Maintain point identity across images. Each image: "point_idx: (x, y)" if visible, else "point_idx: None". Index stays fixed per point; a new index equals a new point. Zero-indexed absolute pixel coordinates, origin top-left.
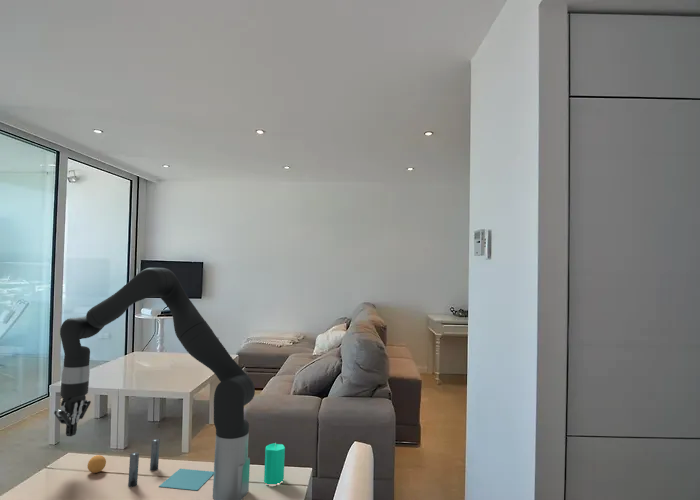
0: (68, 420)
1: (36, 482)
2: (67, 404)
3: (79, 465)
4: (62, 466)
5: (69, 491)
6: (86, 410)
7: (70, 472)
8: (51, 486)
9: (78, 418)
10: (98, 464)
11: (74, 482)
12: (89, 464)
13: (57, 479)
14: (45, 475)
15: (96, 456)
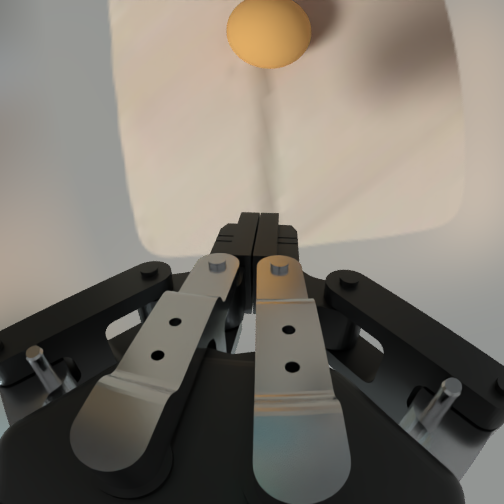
0: (368, 297)
1: (388, 208)
2: (456, 498)
3: (224, 154)
4: None
5: (436, 46)
6: (67, 298)
7: (293, 141)
8: (414, 133)
9: (201, 274)
10: (296, 3)
11: (374, 66)
12: (308, 41)
13: (360, 149)
14: (333, 218)
15: (275, 22)
